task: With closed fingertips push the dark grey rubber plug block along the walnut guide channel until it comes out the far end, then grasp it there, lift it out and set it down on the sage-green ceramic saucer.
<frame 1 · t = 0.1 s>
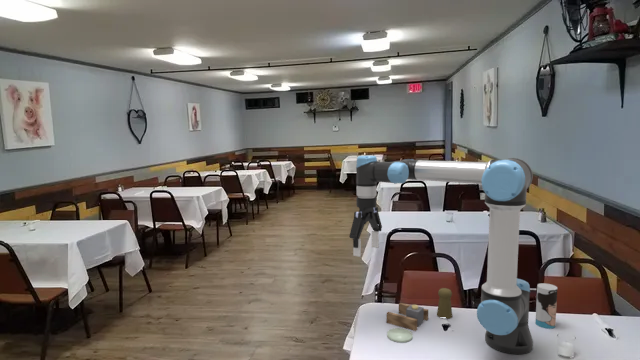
hand: (366, 251, 162), 28 cm above the table, fingers open, 13 cm apart
saucer: (399, 336, 153), on the table
cork: (444, 316, 170), on the table
plug: (414, 323, 164), on the table
guide channel: (407, 321, 165), on the table
cup: (545, 325, 161), on the table
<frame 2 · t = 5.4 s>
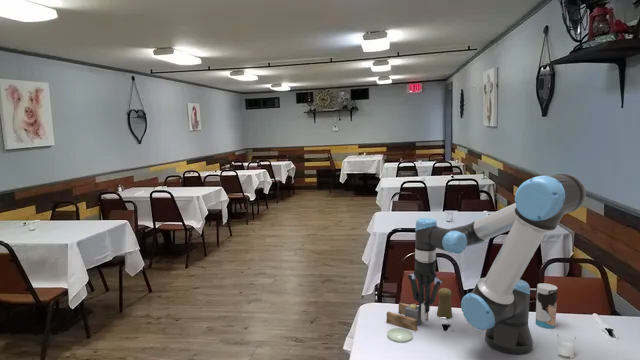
hand: (423, 319, 162), 2 cm above the table, fingers closed
plug: (413, 322, 164), on the table, touching gripper
everything else where it was.
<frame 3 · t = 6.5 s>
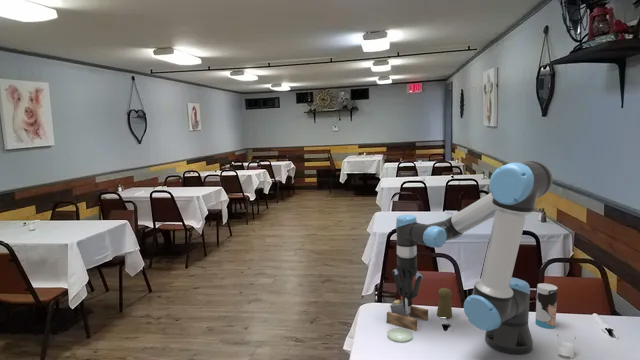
hand: (407, 313, 166), 3 cm above the table, fingers closed
plug: (401, 317, 168), on the table, tilted 14°, touching gripper
everything else where it was.
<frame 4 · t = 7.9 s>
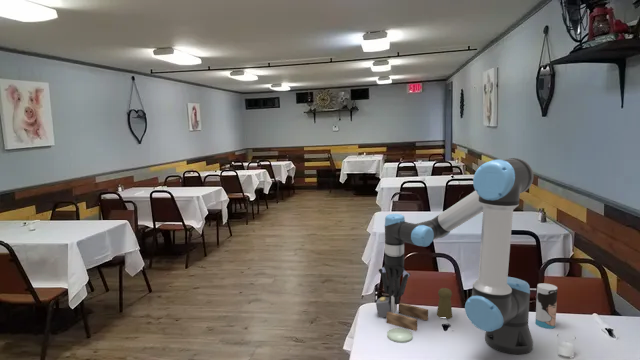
hand: (394, 311, 169), 2 cm above the table, fingers closed
plug: (386, 314, 170), on the table, tilted 12°, touching gripper
everything else where it was.
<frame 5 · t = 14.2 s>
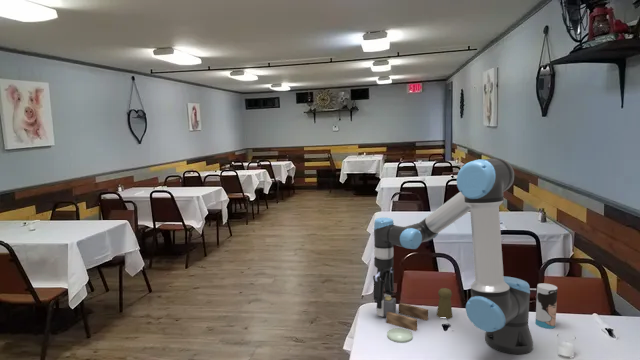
hand: (384, 312, 171), 1 cm above the table, fingers closed on plug, 5 cm apart
plug: (388, 314, 170), point 1 cm above the table, touching gripper
everything else where it was.
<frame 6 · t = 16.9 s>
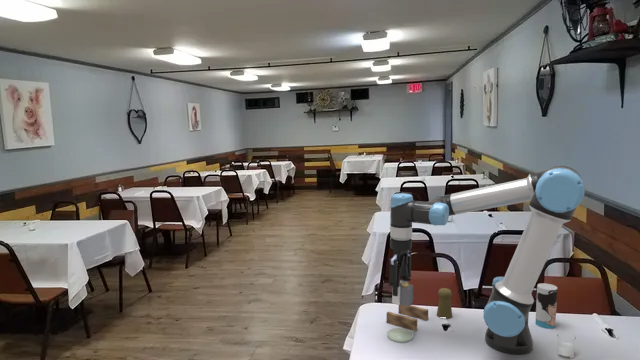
hand: (399, 300, 152), 13 cm above the table, fingers closed on plug, 5 cm apart
plug: (404, 302, 151), point 13 cm above the table, touching gripper
everything else where it was.
when the fingers open (1 cm above the table, at t = 19.2 s): plug stays where it is, resting on saucer.
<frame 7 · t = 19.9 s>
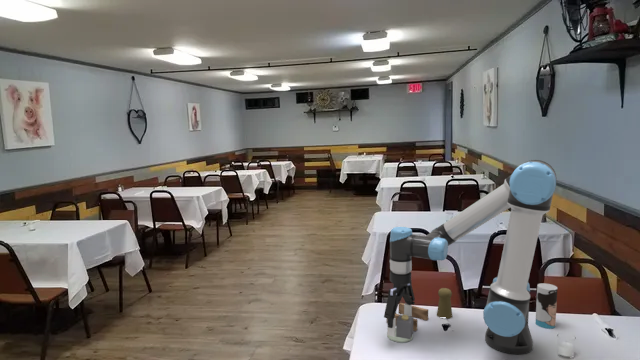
hand: (399, 328, 153), 3 cm above the table, fingers open, 13 cm apart
plug: (404, 334, 152), point 1 cm above the table, touching saucer
everything else where it was.
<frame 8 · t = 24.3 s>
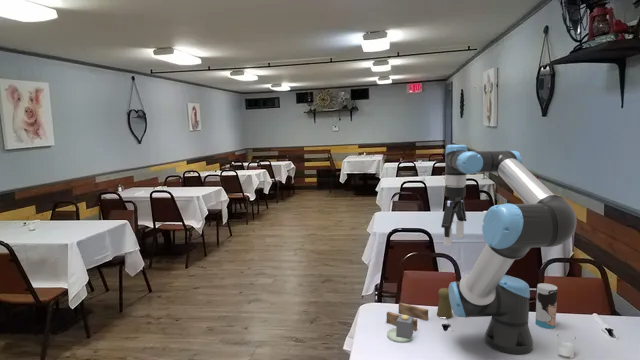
hand: (453, 241, 162), 32 cm above the table, fingers open, 13 cm apart
nothing on the table moved.
at the end: plug 1.8 cm from the saucer (horizontally); plug tilted 0°; plug point 1.0 cm above the table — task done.
